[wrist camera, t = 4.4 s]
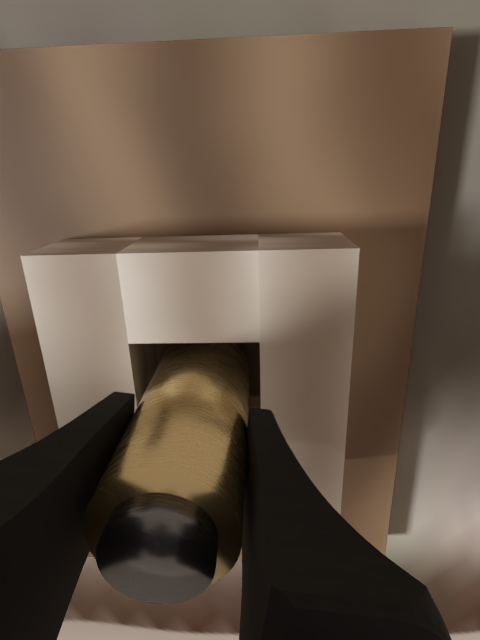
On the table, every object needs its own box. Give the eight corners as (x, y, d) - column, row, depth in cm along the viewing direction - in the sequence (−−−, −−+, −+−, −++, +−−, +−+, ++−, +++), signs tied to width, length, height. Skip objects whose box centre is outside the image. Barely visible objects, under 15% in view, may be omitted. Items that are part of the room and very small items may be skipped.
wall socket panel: (76, 531, 22) (34, 617, 18) (-31, 63, 14) (-149, 20, 10) (375, 535, 21) (404, 626, 17) (432, 41, 14) (510, -15, 9)
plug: (166, 408, 16) (85, 618, 9) (157, 330, 15) (55, 494, 8) (250, 408, 16) (243, 622, 9) (248, 328, 15) (238, 496, 7)
